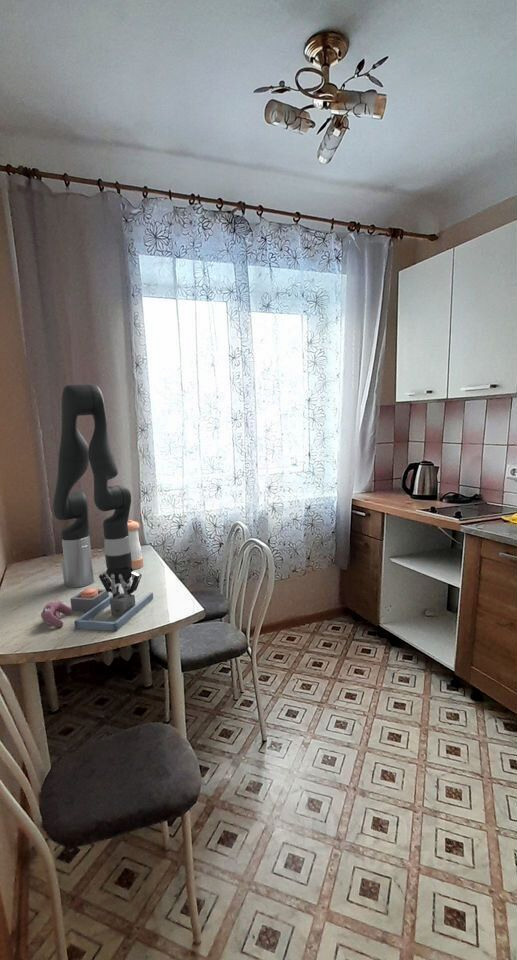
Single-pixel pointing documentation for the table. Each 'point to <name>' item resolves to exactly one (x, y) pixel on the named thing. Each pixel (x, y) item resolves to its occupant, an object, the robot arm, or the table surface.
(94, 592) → the button
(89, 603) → the button housing
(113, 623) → the track
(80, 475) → the robot arm
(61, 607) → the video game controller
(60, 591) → the table surface
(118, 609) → the gray cube
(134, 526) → the pepper shaker
